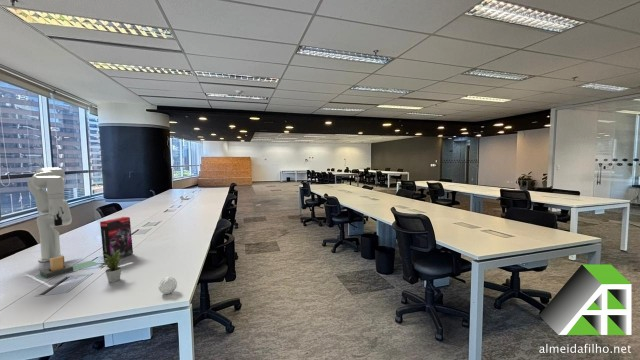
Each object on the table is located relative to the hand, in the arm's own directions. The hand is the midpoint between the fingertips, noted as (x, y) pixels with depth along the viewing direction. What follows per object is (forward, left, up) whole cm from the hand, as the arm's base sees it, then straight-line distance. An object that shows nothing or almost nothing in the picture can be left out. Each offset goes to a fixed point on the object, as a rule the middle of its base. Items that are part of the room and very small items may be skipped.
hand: (58, 225), depth 168 cm
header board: (+11, 0, -27) cm, 29 cm away
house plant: (+51, +6, -27) cm, 58 cm away
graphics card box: (+12, +26, -27) cm, 40 cm away
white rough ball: (+95, +10, -27) cm, 99 cm away
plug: (+12, -6, -26) cm, 29 cm away
